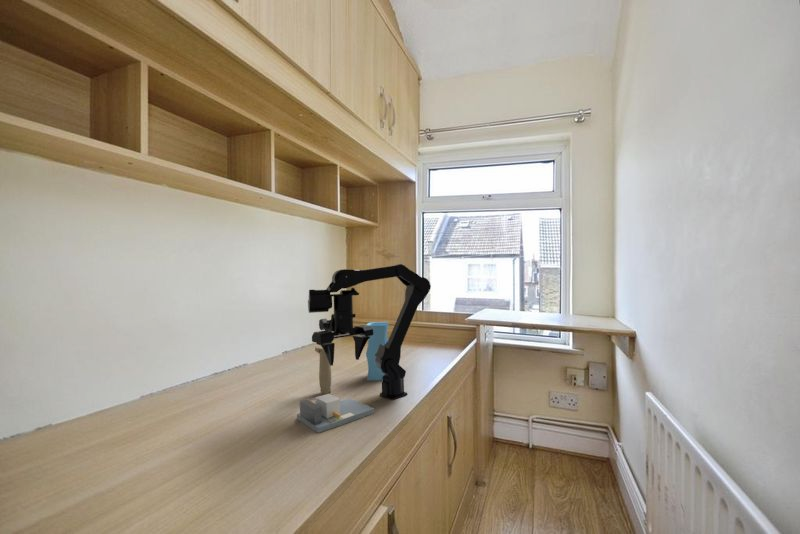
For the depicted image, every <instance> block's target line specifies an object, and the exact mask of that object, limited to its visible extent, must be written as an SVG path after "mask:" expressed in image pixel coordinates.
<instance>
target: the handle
mask: <svg viewBox="0 0 800 534" xmlns="http://www.w3.org/2000/svg"><path fill="white" fill-rule="evenodd" d="M314 350H315V352H316V353H318V354H319V367H318V368H319V371H318V375H319V376H318V377H319V378H318V379H319V380H318V382H319V388H320V389H319V390H320V393H321V394H322V395H326V394H331V392H332V389H331V387H332V366H331V365H330V364H329V361H328V359H327V356H326V354H325V351H324V349H323V348H322V347H321V345H317V346H314Z"/></svg>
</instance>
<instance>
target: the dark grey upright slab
mask: <svg viewBox="0 0 800 534" xmlns="http://www.w3.org/2000/svg"><path fill="white" fill-rule="evenodd" d="M299 413H300V417H302V418H304V419H305V420H307V421H308V422H310V423H311V424H313V425H318V424H320V423H322V409H321V406H319V405H317V404H316V402H313V401H311V400H310V399H308V398H306V399H303V400H299Z"/></svg>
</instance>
